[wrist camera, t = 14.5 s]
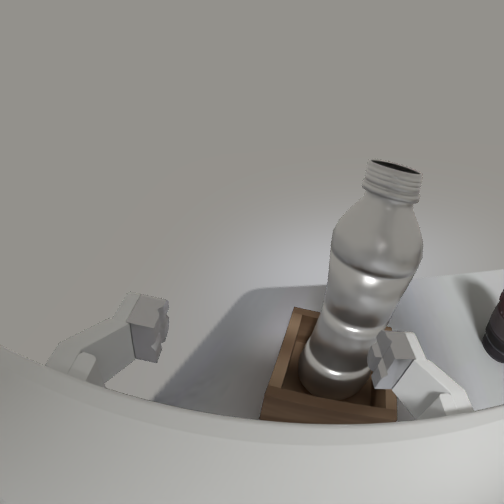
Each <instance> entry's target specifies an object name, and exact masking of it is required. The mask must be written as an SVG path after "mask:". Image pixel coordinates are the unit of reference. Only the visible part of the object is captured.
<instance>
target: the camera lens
mask: <svg viewBox="0 0 504 504" xmlns="http://www.w3.org/2000/svg"><path fill="white" fill-rule="evenodd" d="M499 300H500V301H499V303H498V304H497V306H496V308H495V310H494V312H493V313H492V315H491V318H490V320H489V323H488V325H487V327H486V333H485V335H484V337H483V345H484V348H485V349H486V351H487V352H488V353H489V355H490V356H492V357H493V358H494V359H495V360H497V361H499V362H501V363H504V290H503V292H502V293H501V296H500V298H499Z"/></svg>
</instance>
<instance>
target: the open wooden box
mask: <svg viewBox="0 0 504 504" xmlns="http://www.w3.org/2000/svg"><path fill="white" fill-rule="evenodd" d="M319 315H320V312H315V311H311V310H306V309H302V308H298V307H294V309H293V312H292V316H291V319H290V322H289V325H288V328H287V331H286V334H285V337H284V340H283V343H282V346H281V349H280V352H279V355H278V358H277V361H276V364H275V367H274V370H273V373H272V375H271V378H270V381H269V384H268V387H267V389H266V392H265V395H264V400H263V405H262V409H261V414H260V418H259V420H264V421H275V422H287V423H305V424H372V423H390V422H396V421H397V396H396V395H395V393H394V392H393V391H392V389H374V385H373V382H372V378H371V375H372V373H373V371H372V370H371V373H370V376H369V379H368V380H367V382H366V383H365V384H364V385H363V387H362V388H361V389H360V390H359V391H358V392H357V393H356V394H354V395H353V396H351V397H349V398H346V399H342V400H332V399H327V398H322V397H317V396H314V395H312V394H311V393H310V392H309V391H308V390H307V389H306V388H305V387H304V386H303V385H302V383H301V381H300V379H299V375H298V365H299V357H300V354H301V352H302V350H303V348H304V346H305V344H306V343H307V341H308V340H309V338H310V336H311V335H312V332H313V330H314V328H315V325H316V323H317V320H318V318H319ZM385 331H392V328H391V327H386V328H385Z"/></svg>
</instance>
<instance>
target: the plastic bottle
mask: <svg viewBox="0 0 504 504" xmlns="http://www.w3.org/2000/svg"><path fill="white" fill-rule="evenodd" d="M422 175H423V174H422V173H420V172H419V171H417V170H415V169H412V168H409V167H407V166H404V165H400V164H397V163H393V162H389V161H384V160H378V159H369V160H368V162H367V169H366V174H365V178H364V179H363V183H362V187H363V188H364V189H365V190H366V192H365V194H364V196H363V197H362V198H361V199H360V200H359V201H358V202H356V203H355V204H354V205H353V206H352V207H351V208H350V209H349V210H348V211H347V212H346V213H345V214H344V215H343V216H342V217H341V218H340V219H339V221H338V223H337V225H336V227H335V228H334V230H333V235H332V241H331V251H330V263H329V275H328V282H327V287H326V292H325V297H324V301H323V306H322V310H321V313H320V315H319V318H318V320H317V323H316V325H315V328H314V330H313V332H312V335H311V336H310V338H309V340H308V341H307V343H306V344H305V346H304V348H303V350H302V352H301V354H300V357H299V365H298V375H299V379H300V381H301V383H302V385H303V386H304V387H305V388H306V389H307V390H308V391H309V392H310V393H311V394H312V395H314V396H317V397H322V398H327V399H332V400H342V399H346V398H349V397H351V396H353V395H354V394H356V393H357V392H358V391H359V390H360V389H361V388H362V387H363V385H364V384H365V383H366V382H367V380H368V379H369V376H370V373H371V369H370V368H369V367H368V363H367V356H368V351H369V349H370V347H371V345H373V344H374V343H376V342H377V339H376V336H377V335H378V333H379V332H380V331H381V330H385V328H386V326H387V324H388V322H389V320H390V318H391V316H392V314H393V312H394V310H395V308H396V306H397V304H398V302H399V300H400V299H401V297H402V295H403V294H404V292H405V290H406V288H407V287H408V285H409V283H410V281H411V280H412V278H413V276H414V274H415V272H416V271H417V269H418V266H419V264H420V262H421V260H422V254H423V240H422V236H421V232H420V228H419V225H418V222H417V219H416V217H415V214H414V212H413V204H415V203H418V202H419V199H420V194H419V192H420V187H421V182H422Z"/></svg>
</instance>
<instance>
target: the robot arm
mask: <svg viewBox="0 0 504 504" xmlns="http://www.w3.org/2000/svg"><path fill="white" fill-rule="evenodd" d="M168 309H169V302H168V300H166V299H161V298H157V297H152V296H148V295H144V294H138V293H134V292H129V293H127V295H126V297H125V298H124V300H123V301H122V303H121V305H120V306H119V308H118V310H117V311H116V313H115V315H114V316H113V318H112V319H110V318H108V319H106V320H104V321H102V322H100V323H98V324H96V325H94V326H92V327H90V328H88V329H86V330H84V331H82V332H80V333H78V334H76V335H74V336H72V337H70V338H68V339H66V340H64V341H62V342H60V343H59V344H58V346H57V347H56V349H55V350H54V352H53V353H52V355H51V357H50V358H49V360H48V362H47V363H46V365H42V364H40V363H38V362H35V361H33V360H31V359H29V358H27V357H24V356H22V355H20V354H18V353H16V352H14V351H12V350H10V349H8V348H6V347H4V346H2V345H0V504H504V404H503V405H499V406H495V407H491V408H486V409H482V410H477V411H474V410H473V408H472V405H471V403H470V401H469V398H468V396H467V394H466V391H465V390H464V389H463V388H462V387H460V386H459V385H458V384H457V383H456V382H455V381H454V380H452V379H451V378H450V377H449V376H448V375H447V374H445V373H444V372H443V371H442V370H441V369H440V368H438V367H437V366H436V365H435V364H434V363H433V362H431V361H430V360H427V359H426V357H425V355H424V353H423V350H422V348H421V346H420V344H419V342H418V339H417V337H416V335H415V334H414V333H413V332H399V331H385V330H381V331H380V332H379V333H378V335H377V336H376V339H377V342H376V343H374V344H373V345H371V347H370V349H369V351H368V356H367V363H368V367H369V368H370V369H371V370H372V371H373V373H372V375H371V378H372V382H373V385H374V389H392V391H393V392H394V393H395V395H396V396H397V397H398V398H399V400H400V401H401V402H402V403H403V404H404V406H405V407H406V408H407V409H408V411H409V412H410V413H411V414H412V416H413V417H414V418H415V419H416V420H413V421H402V422H390V423H372V424H305V423H287V422H275V421H264V420H254V419H246V418H238V417H231V416H224V415H218V414H211V413H206V412H200V411H195V410H189V409H185V408H180V407H175V406H170V405H166V404H162V403H158V402H153V401H149V400H145V399H142V398H137V397H134V396H131V395H127V394H124V393H120V392H117V391H114V390H110V389H107V388H105V384H104V383H105V382H107V381H108V380H109V379H111V378H112V377H113V376H114V375H115V374H117V373H118V372H120V371H121V370H122V369H124V368H125V367H126V366H128V365H129V364H130V363H132V362H133V361H134V360H135V359H140V360H144V361H149V362H154V363H157V362H158V359H159V356H160V353H161V350H162V346H161V343H163V342H165V340H166V337H167V333H168V328H169V317H168V316H167V312H168Z"/></svg>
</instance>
